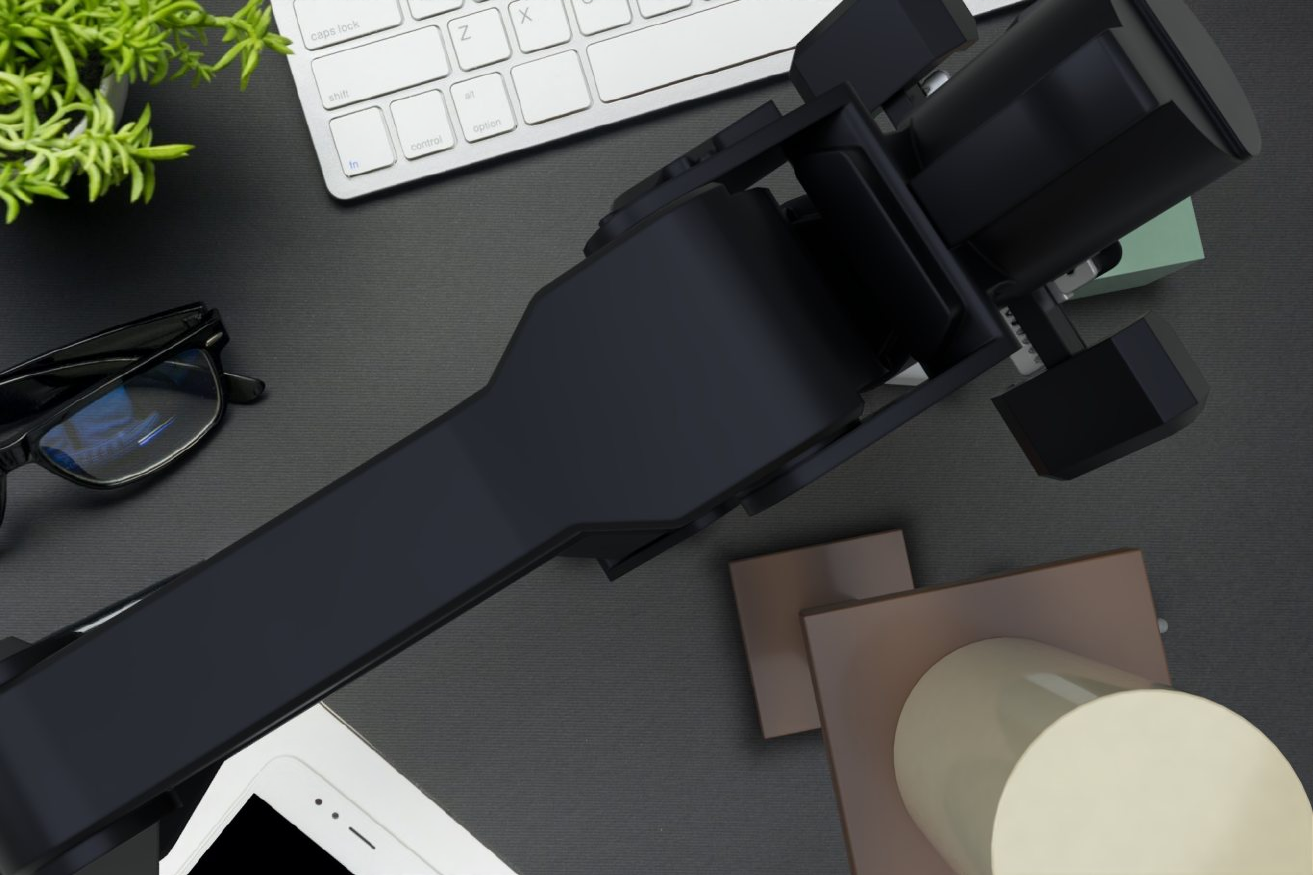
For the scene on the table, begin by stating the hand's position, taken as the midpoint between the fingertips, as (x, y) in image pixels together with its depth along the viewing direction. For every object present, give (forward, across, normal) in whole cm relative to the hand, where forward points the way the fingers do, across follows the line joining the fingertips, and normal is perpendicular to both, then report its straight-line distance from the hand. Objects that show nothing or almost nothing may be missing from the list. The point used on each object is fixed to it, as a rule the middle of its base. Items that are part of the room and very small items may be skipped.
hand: (1063, 190), depth 44 cm
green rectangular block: (+11, -1, +6) cm, 13 cm away
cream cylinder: (-23, -13, +1) cm, 26 cm away
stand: (-3, -13, +21) cm, 24 cm away
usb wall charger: (+4, -1, +14) cm, 14 cm away
